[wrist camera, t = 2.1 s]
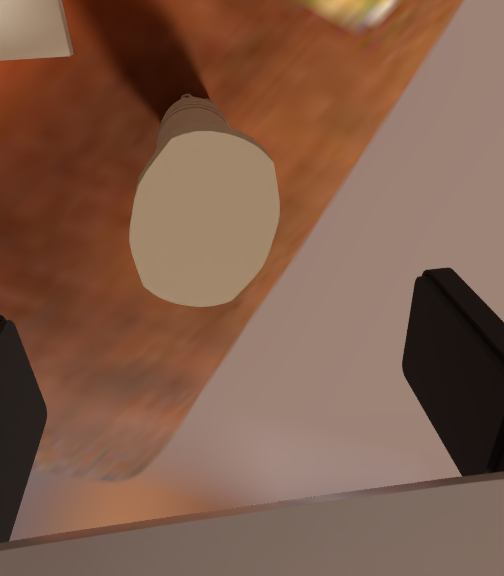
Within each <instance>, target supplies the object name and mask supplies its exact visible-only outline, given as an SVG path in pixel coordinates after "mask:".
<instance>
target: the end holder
mask: <svg viewBox="0 0 504 576" xmlns="http://www.w3.org/2000/svg"><path fill="white" fill-rule="evenodd" d="M73 54H74V53H73V48H72V44H71V39H70V35H69V30H68V26H67V21H66V17H65V12H64V8H63V3H62V0H0V61H1V60H17V59H32V58H48V57H63V56H71V55H73Z"/></svg>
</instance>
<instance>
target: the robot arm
mask: <svg viewBox="0 0 504 576" xmlns="http://www.w3.org/2000/svg"><path fill="white" fill-rule="evenodd" d="M402 368H403V372H404V376H405V378H406V380H407V381H408V383H409V385H410V387H411V388H412V390H413V392H414V393H415V395H416V397H417V399H418V400H419V402H420V404H421V406H422V407H423V409H424V411H425V412H426V414H427V416H428V418H429V420H430V421H431V423H432V425H433V426H434V428H435V430H436V432H437V433H438V435H439V437H440V438H441V440H442V442H443V444H444V446H445V447H446V449H447V451H448V452H449V454H450V456H451V458H452V459H453V461H454V463H455V464H456V466H457V468H458V470H459V472H460V473H461V475H462V477H454V478H445V479H437V480H430V481H423V482H415V483H408V484H401V485H394V486H386V487H379V488H371V489H364V490H357V491H350V492H342V493H335V494H328V495H320V496H313V497H306V498H299V499H292V500H285V501H278V502H271V503H264V504H257V505H250V506H243V507H236V508H229V509H222V510H215V511H208V512H201V513H194V514H188V515H180V516H173V517H166V518H160V519H153V520H146V521H140V522H132V523H126V524H119V525H112V526H106V527H99V528H92V529H85V530H78V531H72V532H65V533H58V534H51V535H45V536H39V537H34V538H27V539H21V540H15V541H9V539H10V536H11V533H12V529H13V526H14V523H15V520H16V516H17V514H18V510H19V507H20V503H21V501H22V497H23V494H24V491H25V488H26V485H27V481H28V478H29V475H30V472H31V469H32V465H33V462H34V459H35V456H36V453H37V449H38V446H39V443H40V440H41V437H42V433H43V430H44V427H45V424H46V420H47V409H46V405H45V402H44V400H43V397H42V394H41V392H40V389H39V386H38V384H37V381H36V379H35V376H34V373H33V371H32V368H31V366H30V363H29V360H28V358H27V355H26V352H25V350H24V347H23V345H22V342H21V339H20V337H19V334H18V332H17V329H16V326H15V324H14V323H13V321H11V320H7V321H6V319H5V318H4V317H3V316H2V315H0V576H504V322H503V321H502V320H501V319H500V318H499V317H498V316H497V315H496V314H495V313H494V312H493V311H492V310H491V309H490V308H489V307H488V306H487V304H486V303H485V302H484V301H483V300H482V299H480V297H479V296H478V295H477V294H476V293H475V292H474V291H473V290H472V289H471V288H470V287H469V286H468V285H467V284H466V283H465V282H464V281H463V280H462V279H461V278H460V277H459V276H458V275H457V273H456V272H454V270H452V269H451V268H440V269H431V270H425V271H424V272H423V274H422V276H421V277H417V279H416V281H415V285H414V292H413V298H412V304H411V311H410V318H409V323H408V329H407V336H406V342H405V348H404V355H403V361H402Z"/></svg>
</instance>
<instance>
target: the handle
mask: <svg viewBox="0 0 504 576" xmlns="http://www.w3.org/2000/svg"><path fill="white" fill-rule="evenodd" d="M279 216H280V202H279V194H278V187H277V181H276V175H275V169H274V163H273V161H272V159H271V157H270V156H269V154H268V153H267V152H266V151H265V150H264V148H263V147H262V146H261V145H260V144H259V143H257V142H256V141H255V140H254V139H253V138H252V137H250V136H248V135H246V134H244V133H242V132H241V131H238V130H235V129H232V128H230V126H229V124H228V122H227V120H226V119H225V117H224V116H223V114H222V113H221V111H220V110H219V109H218V108H217V107H216V106H215V104H214V103H213V102H212V101H211V100H209V99H207V98H206V99H202V98H198V97H193V96H191V94H184V95H182V96H181V99H180V100H179V101H177V102H175V103H174V104H173V105H171V107H170V108H169V109H168V110H167V112H166V113H165V115H164V117H163V119H162V121H161V124H160V127H159V131H158V136H157V142H156V152H155V153H154V155H153V156H152V157H151V159H150V160H149V162H148V163H147V165H146V166H145V168H144V169H143V171H142V172H141V174H140V176H139V179H138V183H137V188H136V193H135V199H134V205H133V212H132V218H131V224H130V235H129V242H130V247H131V252H132V255H133V258H134V261H135V264H136V267H137V270H138V273H139V275H140V278H141V281H142V283H143V286H144V287H145V288H146V289H148V290H149V291H150V292H151V293H153V294H155V295H156V296H158V297H160V298H162V299H164V300H167V301H170V302H172V303H177V304H181V305H186V306H197V307H204V306H215V305H219V304H223V303H226V302H229V301H232V300H233V299H234V298H235V297H236V296H237V295H238V294H239V293H240V292H241V291H242V290H243V289H244V288H245V287H246V286H247V284H248V283H249V282H250V281H251V280H252V279H253V278H254V277H255V276H256V275H257V273H258V272H259V270H260V269H261V268H262V266H263V265H264V263H265V260H266V258H267V256H268V254H269V251H270V248H271V245H272V242H273V239H274V236H275V232H276V229H277V225H278V221H279Z"/></svg>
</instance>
